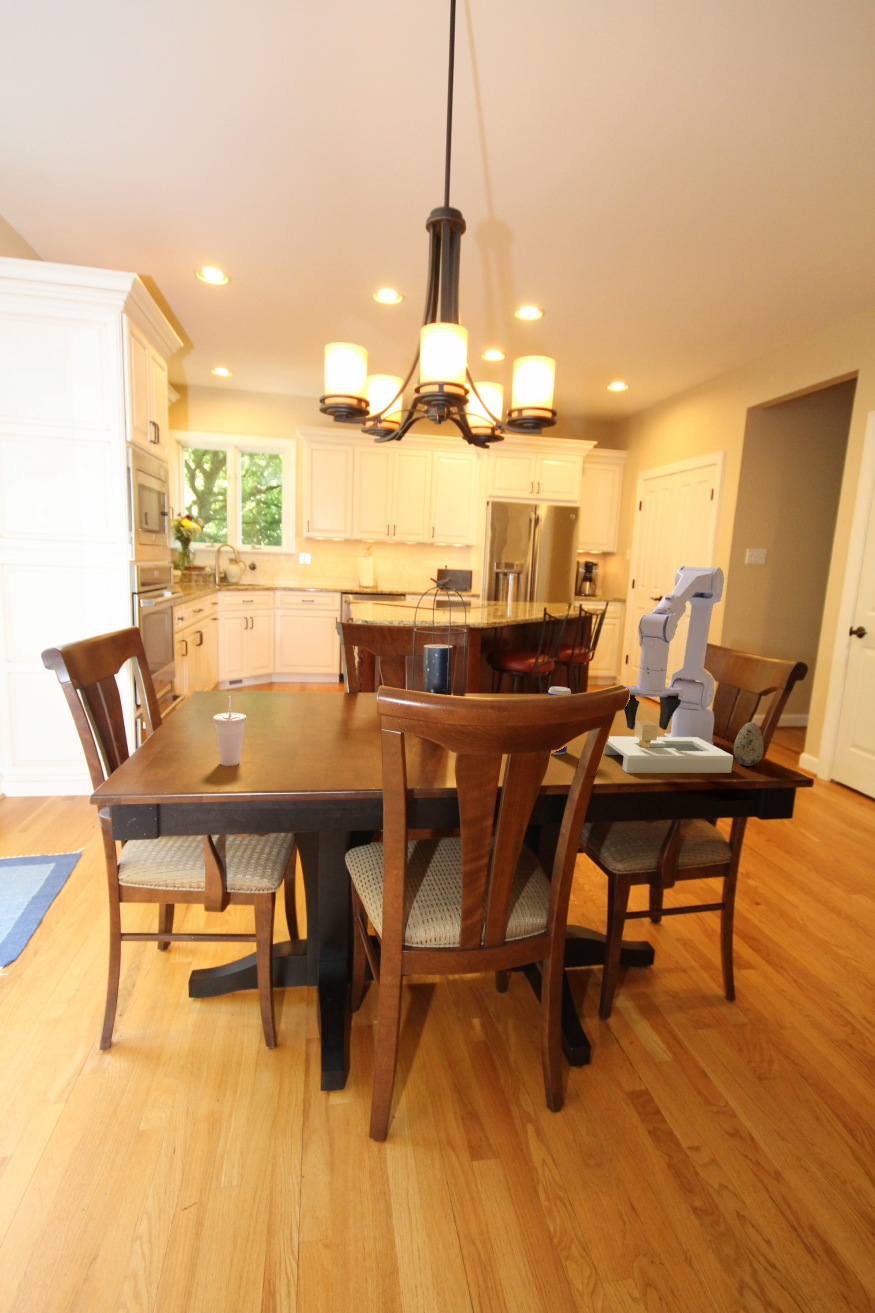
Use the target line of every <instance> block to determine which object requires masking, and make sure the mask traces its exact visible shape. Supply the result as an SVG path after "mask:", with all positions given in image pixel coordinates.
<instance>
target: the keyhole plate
mask: <svg viewBox="0 0 875 1313" xmlns="http://www.w3.org/2000/svg"><path fill="white" fill-rule="evenodd" d="M608 736H609V735H608ZM605 755H606V756H610V755H611V756H620V755H621V756H623V759H622V760H623V761H622V770H623V772H625V773H626V774H627V773H628V774H638V773H639V774H640V773H641V774H661V773H662V774H663V773H664V774H665V773H666V774H669V773H670V774H679V773H680V774H681V773H682V774H685V773H686V774H690V773H691V774H701V773H702V774H709V773H710V774H711V773H712V774H714V773H715V774H718V773H719V774H720V773H721V774H723V773H724V774H727V773H728V774H729V773H730V774H731V773H732V768H733V763H734V762H733V760H734V754H733V755H732V754H731V753H729V752H727V751H724V750H723V749H721V748H720V747H717V746H715V745H714V744H710V743H708V742H706V741H704V740H702V739H700V738H698V737H666V736H657V740H656V741H655V740H651V743H650V748H641V747H639V738H637V737H636V736H622V735H621V736H616V735H615V736H612V735H611V736H609V739H608V742H607V745H606V748H605V754H604V756H605Z"/></svg>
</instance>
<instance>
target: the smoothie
mask: <svg viewBox="0 0 875 1313" xmlns="http://www.w3.org/2000/svg"><path fill="white" fill-rule="evenodd" d="M232 711H233V710H232V695H228V712H223V713H218V714H216V715H213V717H212V723H213V724H214V728H215V734H216V735H215V736H216V743H217V749H218V755H219V757H218V758H219V762H220V763H219V764H220V765H222V766H225V767H229V766H230V767H231V766H237V765H239V764H240V762H241V753H242V748H243V738H244V732H245V731H244V730H245V723H247V715H246V714H244V713H240V712H232Z"/></svg>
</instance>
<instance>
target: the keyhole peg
mask: <svg viewBox="0 0 875 1313" xmlns="http://www.w3.org/2000/svg"><path fill="white" fill-rule="evenodd" d="M658 729H659V724H657V723H655V722H653V721H651V720H635V727H634V734H633V735H634V736H633V737H637V738H639V747H641V748H650V743H651V740H655V741H656V740H657V737H658Z"/></svg>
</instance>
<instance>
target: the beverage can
mask: <svg viewBox="0 0 875 1313" xmlns="http://www.w3.org/2000/svg"><path fill="white" fill-rule="evenodd" d="M547 693H548V694H547V696H548V695H568V694H571V695H572V691H571V689H570V688H568V687H566V686H550V687H549V689H548V692H547ZM567 749H568V745H567V746H566V747H564V748H563V749H561V750H559V751H556V752H554V753H553V754H552V755H553V756H555V755H556V756H559V755H560V756H562V755H564V754H565V753H566V752H567ZM561 754H562V755H561Z"/></svg>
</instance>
